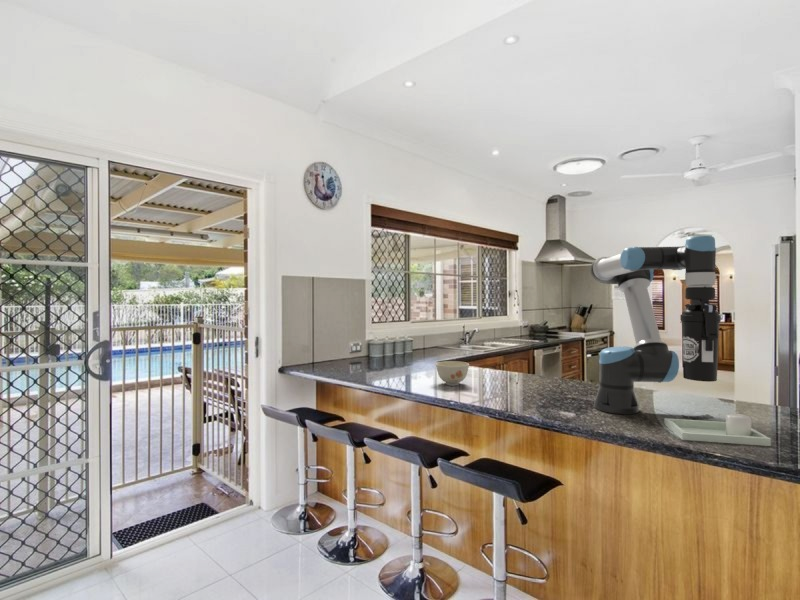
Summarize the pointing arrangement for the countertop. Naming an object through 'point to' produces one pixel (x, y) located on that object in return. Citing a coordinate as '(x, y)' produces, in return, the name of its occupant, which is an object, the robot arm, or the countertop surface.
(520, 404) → the countertop surface
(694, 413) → the countertop surface
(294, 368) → the countertop surface
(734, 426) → the white domed cylinder
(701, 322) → the water bottle
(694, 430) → the tray
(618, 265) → the robot arm
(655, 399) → the countertop surface
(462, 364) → the bowl
